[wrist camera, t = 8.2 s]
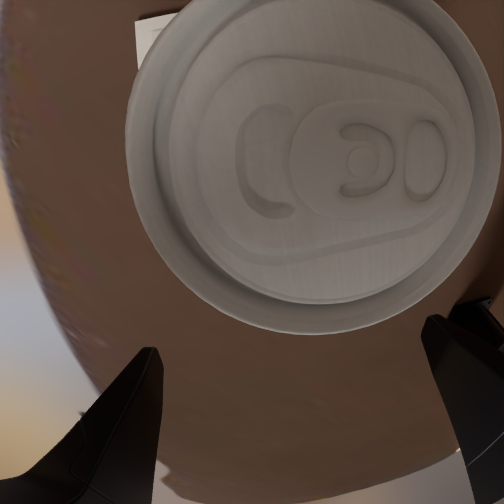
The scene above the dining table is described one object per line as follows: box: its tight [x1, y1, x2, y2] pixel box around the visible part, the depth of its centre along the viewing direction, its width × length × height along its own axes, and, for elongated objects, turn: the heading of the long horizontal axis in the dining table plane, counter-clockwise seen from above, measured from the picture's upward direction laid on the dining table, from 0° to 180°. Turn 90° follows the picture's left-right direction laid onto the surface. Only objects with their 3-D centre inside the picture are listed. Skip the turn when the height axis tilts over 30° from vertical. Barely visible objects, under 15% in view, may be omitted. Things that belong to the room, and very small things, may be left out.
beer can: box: [125, 0, 501, 335], centre depth 10 cm, size 6×6×15 cm
